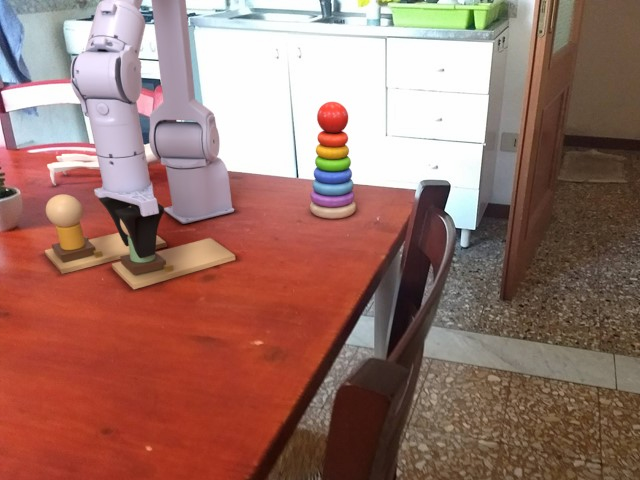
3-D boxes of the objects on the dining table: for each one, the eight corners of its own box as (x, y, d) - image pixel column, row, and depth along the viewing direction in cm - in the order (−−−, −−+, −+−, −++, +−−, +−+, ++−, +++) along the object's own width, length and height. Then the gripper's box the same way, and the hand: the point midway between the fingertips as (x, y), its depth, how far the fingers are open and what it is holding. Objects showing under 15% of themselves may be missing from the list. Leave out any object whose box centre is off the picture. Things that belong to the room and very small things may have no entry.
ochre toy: (72, 187, 90) (37, 194, 88) (83, 196, 87) (47, 203, 85) (86, 243, 95) (53, 251, 92) (96, 254, 92) (63, 262, 89)
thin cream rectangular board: (211, 242, 98) (209, 232, 97) (235, 259, 93) (234, 249, 92) (112, 268, 90) (110, 257, 89) (133, 289, 84) (131, 278, 84)
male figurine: (52, 202, 117) (188, 178, 118) (38, 170, 114) (178, 146, 115) (74, 178, 129) (197, 157, 130) (62, 149, 126) (188, 128, 127)
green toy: (147, 198, 87) (112, 203, 84) (160, 207, 84) (125, 213, 81) (153, 257, 91) (121, 263, 88) (166, 268, 88) (133, 275, 85)
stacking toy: (345, 223, 106) (343, 109, 97) (302, 216, 108) (296, 104, 99) (362, 207, 113) (362, 100, 104) (321, 201, 115) (317, 95, 106)
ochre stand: (146, 230, 102) (144, 220, 101) (166, 246, 96) (165, 236, 96) (45, 254, 93) (42, 244, 92) (62, 274, 88) (59, 263, 87)
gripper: (70, 144, 83) (91, 239, 89) (108, 171, 73) (129, 276, 80) (124, 136, 87) (141, 228, 93) (167, 161, 77) (183, 261, 84)
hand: (139, 249), depth 87 cm, fingers closed on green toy, 4 cm apart
